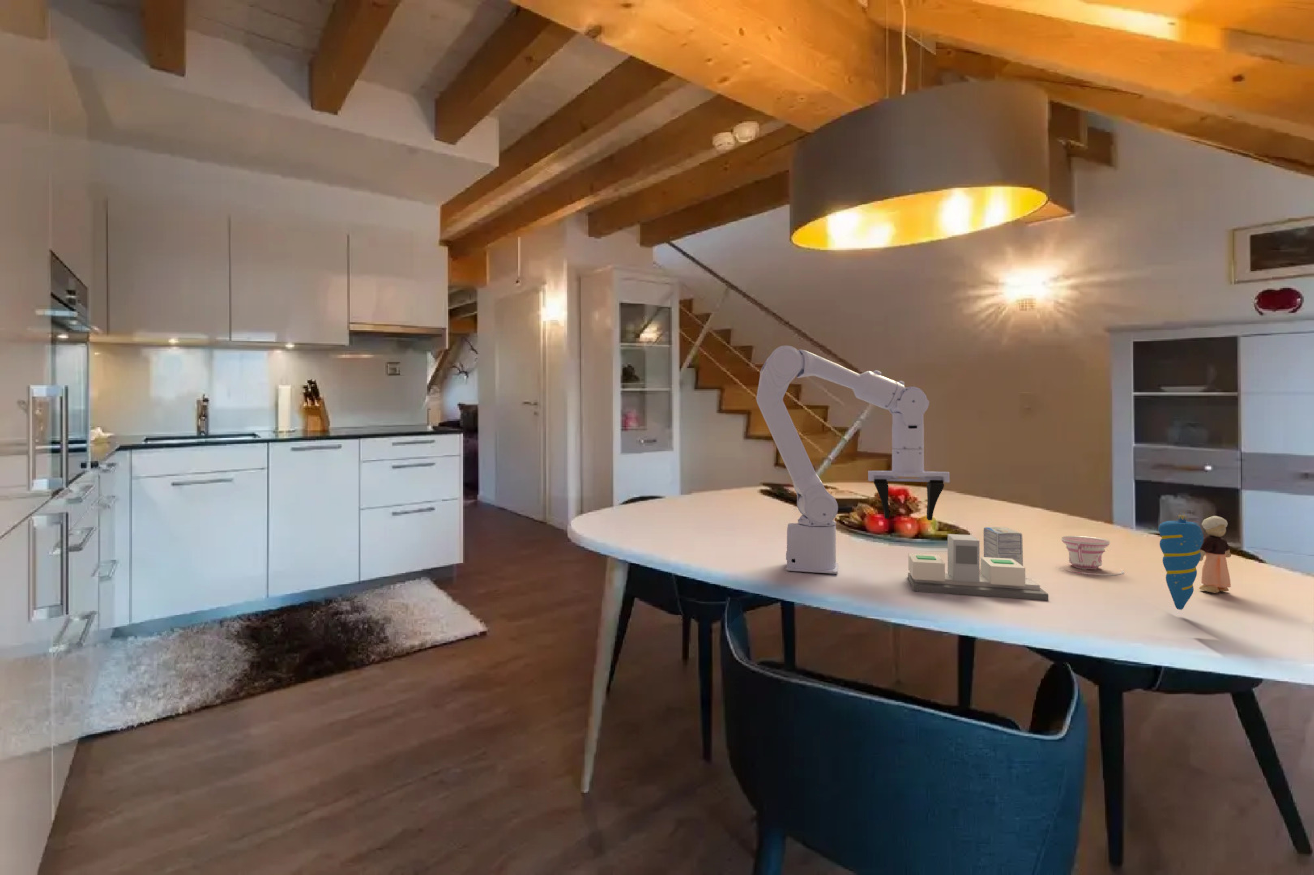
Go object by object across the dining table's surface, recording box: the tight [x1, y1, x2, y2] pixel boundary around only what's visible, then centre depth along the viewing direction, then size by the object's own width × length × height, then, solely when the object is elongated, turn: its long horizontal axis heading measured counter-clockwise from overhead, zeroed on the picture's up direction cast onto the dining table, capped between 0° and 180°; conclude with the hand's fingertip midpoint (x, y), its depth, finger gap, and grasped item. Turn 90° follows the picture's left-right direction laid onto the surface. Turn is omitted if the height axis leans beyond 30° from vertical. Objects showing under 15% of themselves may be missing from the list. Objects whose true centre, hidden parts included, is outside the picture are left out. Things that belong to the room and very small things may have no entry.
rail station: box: [907, 552, 1049, 601], centre depth 104 cm, size 20×10×5 cm, turn 73°
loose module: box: [947, 533, 981, 582], centre depth 104 cm, size 4×6×7 cm, turn 163°
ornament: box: [1158, 510, 1205, 611], centre depth 91 cm, size 5×5×15 cm
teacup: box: [1055, 535, 1125, 577], centre depth 119 cm, size 12×12×6 cm
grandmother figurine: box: [1198, 515, 1232, 593], centre depth 103 cm, size 8×4×13 cm, turn 117°
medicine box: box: [983, 526, 1024, 567], centre depth 114 cm, size 8×4×9 cm, turn 168°
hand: (907, 518), depth 116 cm, fingers open, 7 cm apart
